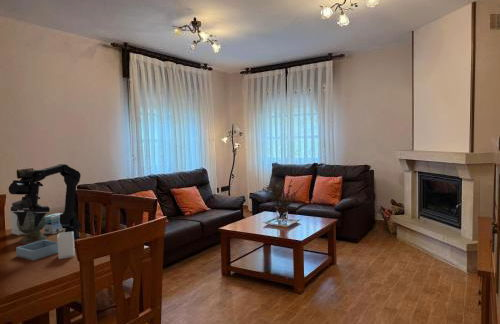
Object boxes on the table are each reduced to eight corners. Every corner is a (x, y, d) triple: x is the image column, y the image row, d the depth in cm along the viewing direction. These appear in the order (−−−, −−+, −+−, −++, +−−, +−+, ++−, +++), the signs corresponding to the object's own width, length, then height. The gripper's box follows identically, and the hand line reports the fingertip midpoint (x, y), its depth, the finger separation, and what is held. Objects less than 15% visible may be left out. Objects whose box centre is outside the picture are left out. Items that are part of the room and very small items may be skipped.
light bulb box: (53, 234, 201) (51, 216, 200) (43, 233, 202) (42, 216, 201) (66, 229, 211) (65, 213, 210) (57, 229, 213) (56, 212, 212)
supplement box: (18, 235, 200) (16, 211, 199) (11, 233, 204) (9, 210, 203) (34, 231, 207) (32, 208, 206) (27, 230, 212) (26, 207, 211)
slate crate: (45, 247, 174) (45, 239, 174) (61, 251, 167) (61, 242, 167) (16, 256, 162) (16, 247, 161) (32, 260, 155) (32, 251, 155)
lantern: (19, 245, 180) (15, 200, 179) (17, 239, 191) (14, 197, 190) (48, 239, 189) (45, 196, 187) (45, 234, 200) (42, 194, 198)
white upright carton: (60, 255, 162) (58, 233, 162) (74, 252, 165) (73, 231, 164) (58, 259, 156) (57, 236, 156) (73, 256, 159) (72, 234, 158)
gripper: (1, 194, 160) (-2, 226, 158) (32, 194, 155) (28, 228, 153) (22, 194, 171) (19, 225, 169) (51, 195, 166) (48, 226, 164)
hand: (28, 226), depth 163 cm, fingers open, 9 cm apart
